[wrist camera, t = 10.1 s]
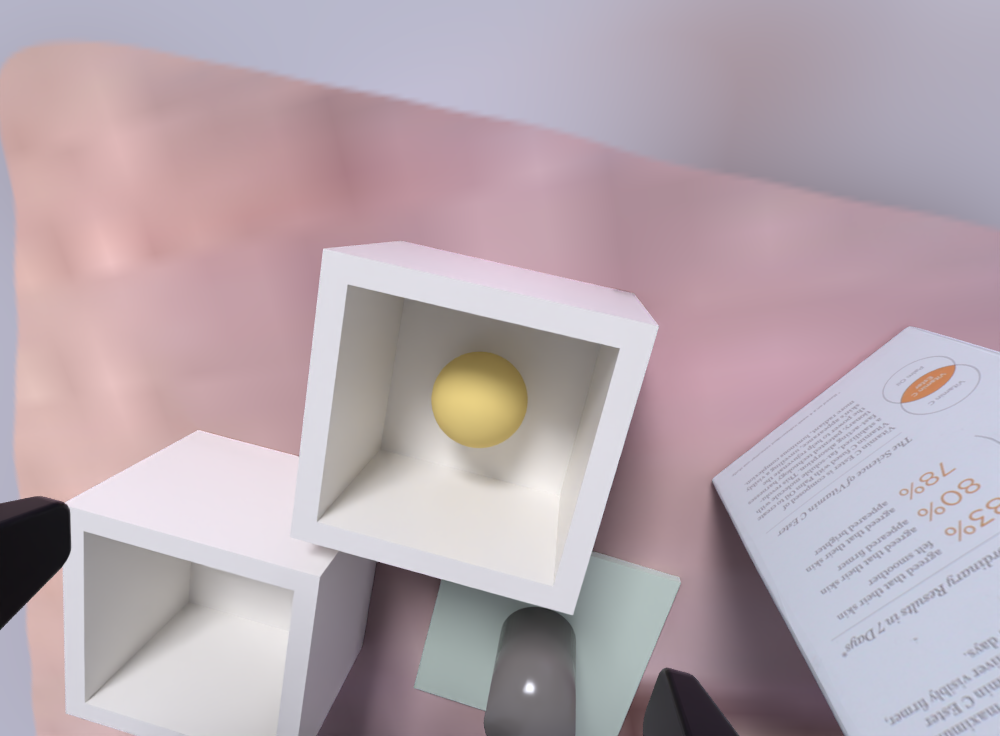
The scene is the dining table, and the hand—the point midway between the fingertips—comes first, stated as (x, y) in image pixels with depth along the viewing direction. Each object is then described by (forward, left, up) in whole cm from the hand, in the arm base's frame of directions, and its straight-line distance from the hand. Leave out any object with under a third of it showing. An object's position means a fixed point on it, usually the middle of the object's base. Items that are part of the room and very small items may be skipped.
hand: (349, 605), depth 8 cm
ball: (0, 0, -11) cm, 11 cm away
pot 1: (-9, +7, -12) cm, 17 cm away
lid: (-10, -4, -13) cm, 17 cm away
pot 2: (0, 0, -12) cm, 12 cm away
